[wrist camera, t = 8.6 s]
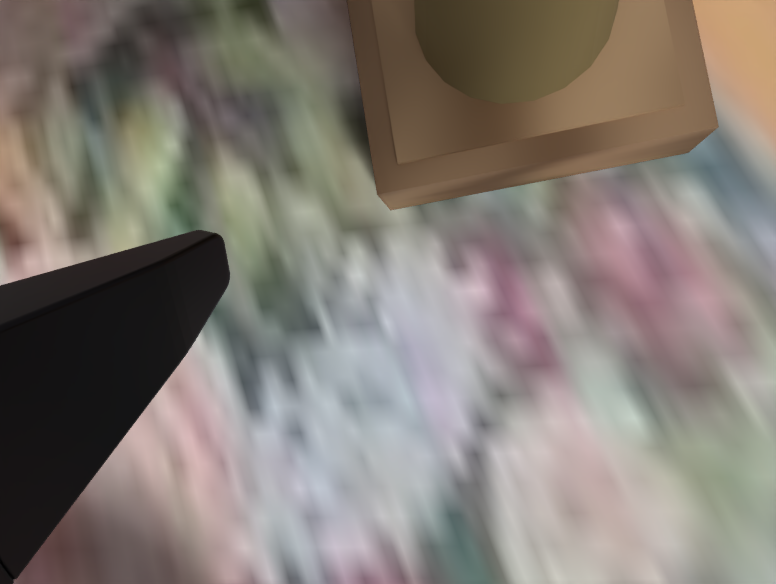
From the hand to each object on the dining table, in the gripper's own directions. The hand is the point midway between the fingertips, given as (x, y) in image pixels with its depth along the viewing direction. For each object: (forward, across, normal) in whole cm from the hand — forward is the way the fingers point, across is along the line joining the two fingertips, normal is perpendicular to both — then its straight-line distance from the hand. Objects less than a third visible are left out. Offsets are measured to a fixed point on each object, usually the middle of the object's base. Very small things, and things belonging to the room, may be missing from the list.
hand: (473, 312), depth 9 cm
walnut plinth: (+14, +2, -1) cm, 14 cm away
